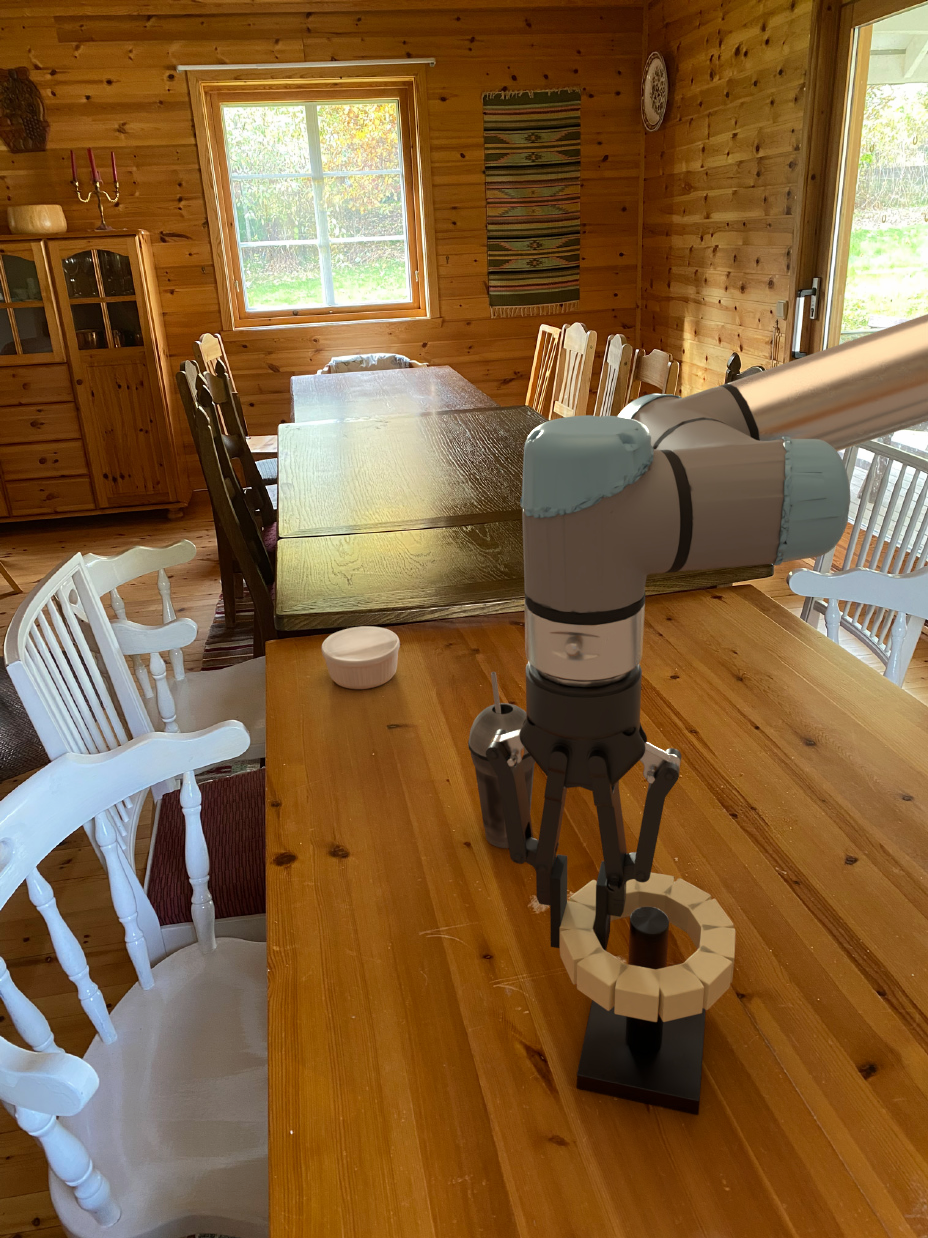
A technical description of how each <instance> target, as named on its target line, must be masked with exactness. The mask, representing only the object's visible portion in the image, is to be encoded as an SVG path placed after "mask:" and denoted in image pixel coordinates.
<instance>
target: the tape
mask: <svg viewBox="0 0 928 1238" xmlns="http://www.w3.org/2000/svg"><path fill="white" fill-rule="evenodd" d="M596 883H597V880H595V879H592V880H591V881H589V882H588V883H586V885H584V886H583V887H581V888H580V889H579V890H578V891H576V892H574V893H573V894H572V895H571V896H570V897H569V900H567V904H566V908H565V912H564V915H563V919H562V923H561V926H560V948H559V957H560V959H561V961H562V963H563V966H564V968H565V970H566V972H567V974H568V977H569V979H570V981H571V983H572V985H576V990H577V991H579V992H581V993H582V994H583V995H584V996H586V997H588V998H589V999H591V1001H592V1000H593V1001H595V1002H596V1003H598V1004H599V1005H600V1006H602V1007H603V1008H605V1009H606V1010H607V1011H609V1010H611V1009H612V1008H613V1007H614V1006H615V1009H614V1013H615V1014H618V1015H623V1016H628V1017H633V1018H638V1019H643V1020H648V1021H653V1022H657V1019H658V1013H659V1015H660V1017H661V1019H662V1021H663V1022H666V1021H670V1020H675V1019H679V1018H683V1017H687V1016H692V1015H696V1014H700V1013H702V1008H704V1009H705V1010H706V1011H708V1010H710V1008H711V1007H712V1006H713V1005H714V1004H715V1003H717V1001H719V999H720V998H721V997H722V996H723V995H724V994H725V993H726V992H727V991H728V990H729V989H730V987H731V984H732V983H733V977H734V976H733V975H734V967H735V958H736V957H735V956H736V955H735V954H736V929H735V924H734V923H733V921H732V920H731V919H730V917H729V916H728V914H727V913H726V912H725V910H724V909H723V907H722V906H721V904H720V903H719V902H718V901H717V899H716V898H713V899H712V895H711V894H710V893H708V892H707V891H704V890H702V889H700V888H699V887H697V886H695V885H693V884H691V883H690V882H688V881H685V880H684V879H682V878H680V877H679V878H677V879H676V880H675V876H674V875H669V874H661V873H656V872H651V874H650V878H649V880H648V881H647V882H638V881H636V880H635V879H632V880H629V881H627V882H626V901H625V906H624V911H623V913H622V915H621V917H618V916H612V915H611V921H610V923H611V922H613V921H616V920H619V919H624V918H630V916H631V914H632V912H633V911H634V910H636V909H638V908H641V907H654V908H657V909H659V910H661V911H663V912H664V913H665V914H666V915H667V917H668V919H669V924H671V925H673V926H675V927H676V928H678V929H679V930H681V931H682V932H684V933H686V934H687V935H688V937H689V938H690V940H691V941H692V943H693V944H694V946H695V948H696V951H695V952H694V953H692V955H691V956H689V957H688V958H687V959H686V960H685V961H684V962H683V963H678V964H675V965H669V966H667V967H665V968H661V969H656V970H655V969H650V968H645V967H639V966H634V965H628V963H626V962H624V961H622V960H621V959H619V958H617V957H616V956H614V955H613V954H611V953H610V952H608V951H607V950H606V951H605V950H604V949H603V948H602V946H601V944H600V942H599V940H598V938H597V937H596V935H595V917H596Z"/></svg>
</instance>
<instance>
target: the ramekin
mask: <svg viewBox="0 0 928 1238" xmlns="http://www.w3.org/2000/svg"><path fill="white" fill-rule="evenodd" d="M400 647H401V641H400V638H399V636H398V635H397V634H396V633H395V632H393V631H392V630H390V629H388V628H384V627H380V626H370V625H369V626H368V625H367V626H355V627H349V628H346V629H342V630H339V631H336V632H334V633H331V634H330V635H329V636H328V637H326V638H325V639H324V641H322V644H321V654H322V657H323V658H324V660H325V664H326V667H327V670H328V674H329V677H330V679H331V680H332V681H333V682H334V683H335V684H337V685H338V686H339V687H342V688H346V689H351V690H367V689H368V690H369V689H373V688H377V687H380V686H382V685H384V684H386V683H388V682H389V681H390V680H391V679H392V678H393V677H394V675H395V674H396V672H397V669H398V658H399V651H400Z"/></svg>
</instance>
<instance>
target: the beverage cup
mask: <svg viewBox="0 0 928 1238" xmlns="http://www.w3.org/2000/svg"><path fill="white" fill-rule="evenodd" d="M490 679H491V687H492V694H493V702H494V703H493V704H492V705H489V706H487V707H485V708H484V709H483V710H482V711H480V712H479V713H478V715H477V716H476V717H475V719H474V720H473V723H472V725H471V727H470V730H469V737H468V740H467V741H468V742H467V745H468V747H467V748H468V750H469V751H470V757H471V760H472V764H473V766H474V770H475V775H476V784H477V791H478V798H479V804H480V810H481V818H482V824H483V825H482V826H483V828H484V833H485V838H486V841H487V842H488V843H489V844H491V845H492V846H494V847H496V848H499V849H501V848H502V849H509V846H508V839H507V833H506V827H505V820H504V814H503V808H502V802H501V795H500V789H499V783H498V776H497V775H496V773H495V771H494V769H493V768H492V766H491V764H490V762H489V760H488V759H487V757H486V750H487V748H488V746H489V744H490V742H491V740H492V738H493V736H494V734H495V732H496V731H497V730H499V729H503V730H506V731H507V732H508V733H510V732H513V731H516V730H520V729H521V728H522V726H523V723H524V721H525V719H526V716H527V715H526V710H524V709H523V708H521V707H520V706H517V705H515V704H512V703H507V702H500V694H499V693H500V692H499V687H498V677H497V673H496V671H492V672H490ZM522 762H523V768H524V775H525V782H526V789H527V796H528V803H529V809H530V812H531V810H532V798H533V784H534V773H535V772H534V771H535V764H536V762H535V760H534V759H533V758H532V756H531V755H530V754H529V753H528V751H527V750H526V749H525V748H524V755H523V757H522Z"/></svg>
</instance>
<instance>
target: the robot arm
mask: <svg viewBox="0 0 928 1238" xmlns="http://www.w3.org/2000/svg"><path fill="white" fill-rule="evenodd" d="M926 422H928V313H926V314H924V315H921V316H918V317H915V318H912V319H909V320H906V321H904V322H900V323H898V324H894V325H892V326H889V327H886V328H884V329H880V330H877V331H875V332H872V333H869V334H866V335H863V336H861V337H858V338H854V339H852V340H848V341H846V342H843V343H840V344H837V345H834V346H831V347H828V348H825V349H823V350H820V351H817V352H814V353H811V354H808V355H805V356H803V357H800V358H797V359H794V360H791V361H788V362H785V363H782V364H779V365H776V366H774V367H771V368H768V369H765V370H762V371H759V372H757V373H753V374H750V375H747V376H745V377H742V378H739V379H736V380H733V381H730V382H728V383H724V384H720V385H718V386H714V387H710V388H707V389H704V390H701V391H698V392H696V393H692V394H689V395H687V396H684V397H681V396H680V395H676V394H672V393H669V394H666V393H651V394H645V395H642V396H640V397H638V398H636V399H634V400H632V401H631V402H630V403H628V404H627V405H626V406H625V407H624V408H623V409H622V410H621V411H620V413H619V414H618V415H602V416H597V415H589V414H588V415H573V416H566V417H560V418H556V419H551V420H549V421H546V422H543V423H541V424H539V425H538V426H536V427H534V429H533V430H532V431H531V432H530V433H529V434H528V436H527V437H526V440H525V443H524V447H523V464H522V465H523V466H522V485H521V486H522V488H521V497H520V499H519V504H520V507H521V513H522V515H521V516H522V517H521V520H522V544H523V545H522V546H523V577H524V578H523V579H524V603H523V605H524V607H523V608H524V609H523V610H524V649H525V650H524V651H525V657H526V660H527V661H528V662H527V664H526V665H525V712H526V715H527V716H526V719H525V721H524V723H523V726H522V728H521V729H520V730H516V731H513V732H510V733H508V732H507V731H506V730H503V729H499V730H497V731H496V732H495V734H494V736H493V738H492V740H491V742H490V744H489V746H488V748H487V750H486V757H487V759H488V760H489V762H490V764H491V766H492V768H493V769H494V771H495V773H496V775H497V776H498V783H499V789H500V795H501V802H502V808H503V814H504V820H505V827H506V833H507V839H508V846H509V848H508V852H509V857H510V860H511V861H512V862H513V863H515V864H517V865H522V864H525V863H527V864H528V865H530V866H531V867H532V868H534V870H535V885H536V888H535V890H536V900H537V902H538V904H539V905H544V906H549V915H550V917H549V919H550V920H549V922H550V923H549V924H550V925H549V926H550V927H549V928H550V930H549V931H550V932H549V933H550V948H554V949H560V926H561V923H562V919H563V915H564V912H565V908H566V904H567V901H568V855H565V854H560V853H559V854H558V853H557V852H558V849H559V846H560V843H559V842H560V837H561V836H560V835H561V829H562V824H563V819H564V818H563V817H564V812H565V805H566V799H567V794H568V793H567V792H568V789H571V788H582V789H585V790H588V791H591V792H592V798H593V804H594V806H595V808H596V814H597V821H598V828H599V836H600V842H601V849H602V857H603V858H602V859H603V860H601V863H600V867H599V871H598V876H597V879H596V881H597V883H596V917H595V935H596V937H597V938H598V940H599V942H600V944H601V946H602V948H603V949H604V950H605V951H607V949H608V944H609V940H610V934H611V922H612V921H611V915H612V916H618V917H621V915H622V913H623V911H624V906H625V901H626V882H627V881H629V880H632V879H635V880H636V881H638V882H647V881H648V880H649V878H650V874H651V873H652V869H653V862H654V859H655V852H656V848H657V847H656V846H657V842H658V837H659V832H660V826H661V821H662V817H663V816H662V815H663V811H664V805H665V800H666V797H667V796H668V794H669V793H670V792H671V790H672V789H673V787H674V786H675V784H676V783H677V782H678V780H679V778H680V772H681V771H680V770H681V764H682V753H681V751H680V750H678V748H674V747H672V748H671V747H670V748H667V749H665V750H663V749H661V748H659V747H657V746H655V745H653V744H652V743H650V742H648V736H647V734H646V732H645V730H644V728H643V726H642V723H641V704H642V681H643V680H642V677H643V670H642V666H641V664H640V663H641V661H642V659H643V652H644V651H643V650H644V631H645V612H646V611H645V610H646V583H647V577H648V576H650V575H654V574H655V575H656V574H668V573H670V574H671V573H677V572H684V571H685V572H687V571H700V570H710V569H722V568H723V569H724V568H737V567H747V566H748V567H749V566H758V565H759V566H760V565H771V566H780V565H781V564H782V563H788V562H789V563H790V562H793V561H800V560H807V559H814V558H818V557H822V556H824V555H827V554H828V553H830V552H832V550H833V549H835V547H836V546H837V544H838V543H839V542H840V541H841V539H842V537H843V535H844V533H845V531H846V529H847V525H848V521H849V512H850V506H851V484H850V479H849V475H848V472H847V468H846V466H845V463H844V461H843V459H842V457H841V454H840V453H839V452H840V451H843V450H846V449H849V448H852V447H855V446H858V445H861V444H864V443H867V442H870V441H873V440H876V439H878V438H882V437H884V436H888V435H890V434H894V433H896V432H899V431H903V430H905V429H908V428H911V427H914V426H917V425H920V424H923V423H926ZM524 748H525V749H526V750H527V751H528V753H529V754H530V755H531V756H532V758H533V759H534V760H535V764H537V766H538V767H539V768H540V769H541V771H542V772H543V774H545V777H546V781H545V789H544V797H543V798H544V800H543V807H542V808H543V809H542V816H541V819H540V820H541V821H540V827H539V834H538V839H536V838H534V832H533V824H532V818H531V811H530V809H529V803H528V796H527V789H526V782H525V775H524V768H523V762H522V757H523V755H524ZM639 762H640V763H642V765H643V773H642V774H643V777H644V779H645V780H646V782H647V783H648V785H647V790H646V796H645V802H644V808H643V813H642V819H641V825H640V829H639V835H638V840H637V846H636V851H634V852H628V850H627V841H626V833H625V832H626V831H625V825H624V817H623V809H622V802H621V795H620V794H621V793H620V780H621V779H623V777H625V776H626V774H628V773H629V772H630V770H631V769H632V768H634V767H635V765H636V764H637V763H639ZM610 921H611V922H610Z"/></svg>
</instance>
